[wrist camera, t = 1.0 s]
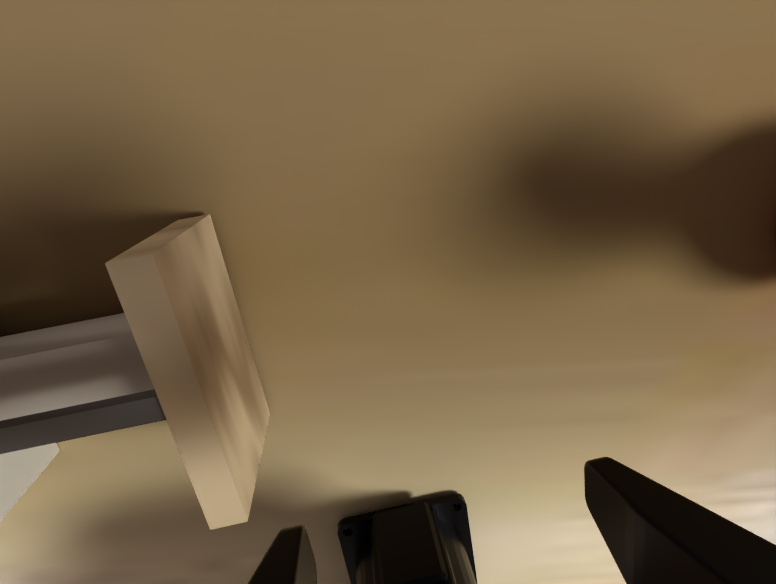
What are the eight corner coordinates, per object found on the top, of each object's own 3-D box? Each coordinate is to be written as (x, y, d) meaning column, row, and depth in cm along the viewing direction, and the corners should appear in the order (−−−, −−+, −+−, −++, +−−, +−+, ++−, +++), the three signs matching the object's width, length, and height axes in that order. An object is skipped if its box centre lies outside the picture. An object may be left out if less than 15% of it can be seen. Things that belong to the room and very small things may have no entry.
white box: (270, 414, 21) (247, 521, 15) (-87, 489, 20) (-253, 633, 14) (209, 214, 17) (152, 254, 12) (-216, 292, 17) (-496, 376, 11)
